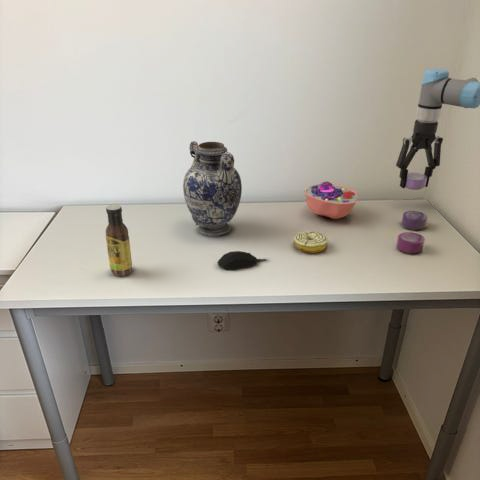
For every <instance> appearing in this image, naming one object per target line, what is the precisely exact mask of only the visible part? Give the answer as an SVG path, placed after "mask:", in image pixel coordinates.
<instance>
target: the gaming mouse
mask: <svg viewBox="0 0 480 480" xmlns="http://www.w3.org/2000/svg"><path fill="white" fill-rule="evenodd" d="M262 261H267V259H266V258H257V257H256V256H254V255H252V253H250V252H246V251H240V250H236V251H228V252H226V253H224V254H223V255H222V256H221V257H220V258H219V259H218V260H217V265H218V267H220V268H223V269H226V270H237V269H245V268H250V267H254V266H255V265H257V262H262Z"/></svg>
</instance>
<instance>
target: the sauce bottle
mask: <svg viewBox="0 0 480 480" xmlns="http://www.w3.org/2000/svg"><path fill="white" fill-rule="evenodd" d="M105 211H106V214H107V223H108V224H107V226H106V228H105V241H106V248H107V256H108V263H109V268H110V272H111V274H112V275H114V276H117V277H125V276H128V275H130V274H131V273H132V272H133V259H132V251H131V243H130V236H129V229H128V227H127V226H126V224H125V223H124V219H123V214H122V212H123V208H122V205H120V204H117V203H113V204H108V205H107V206H106V207H105Z"/></svg>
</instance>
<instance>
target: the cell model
mask: <svg viewBox="0 0 480 480" xmlns="http://www.w3.org/2000/svg"><path fill="white" fill-rule="evenodd" d="M304 196H305V202H306V205H307V208H308V209H309V210H310V212H311V213H312V214H315V215H317V216H322V217H327V218H329V219H333V220H339V219H341V218H344V217H347V216H348V215H349V214H351V212H352V211H353V209H354V208H355V206H356V202H357V200H358V193H356V191H354V190H353V189H352V188H349V187H345V186H341V185H337V184H332V182H329V181H326V180H325V181H322V182H321V183H318V184H314V185H311V186H308V187H307V188H306V189H305V190H304Z"/></svg>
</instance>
